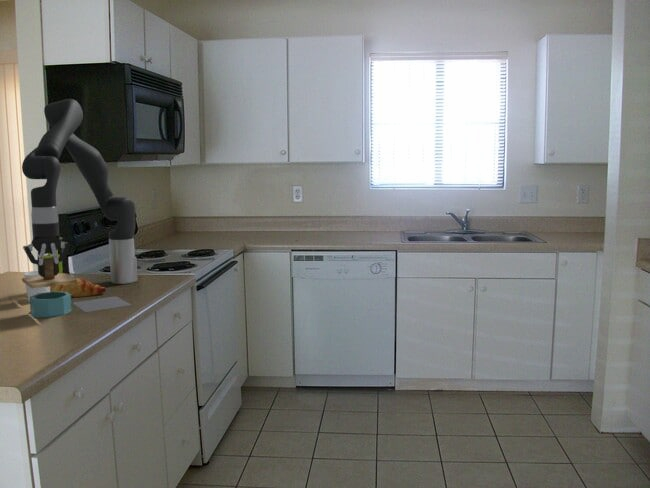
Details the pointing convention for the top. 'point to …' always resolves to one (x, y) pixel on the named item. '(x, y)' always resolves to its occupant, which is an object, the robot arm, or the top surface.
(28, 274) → the white cup
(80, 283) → the croissant
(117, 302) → the mat
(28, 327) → the top surface
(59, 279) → the lid
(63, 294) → the bowl
